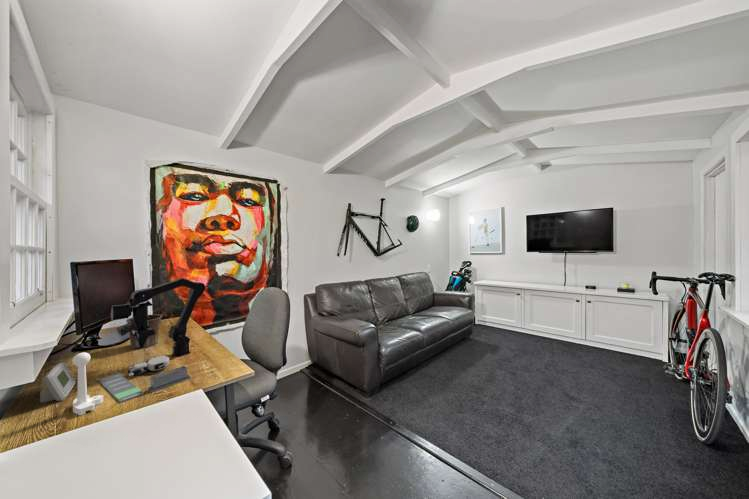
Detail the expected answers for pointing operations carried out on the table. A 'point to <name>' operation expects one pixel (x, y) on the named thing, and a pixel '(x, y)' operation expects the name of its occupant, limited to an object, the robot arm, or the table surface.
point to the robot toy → (149, 365)
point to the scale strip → (120, 387)
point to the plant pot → (153, 324)
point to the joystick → (84, 387)
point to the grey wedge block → (168, 378)
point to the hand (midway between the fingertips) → (140, 347)
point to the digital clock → (57, 384)
